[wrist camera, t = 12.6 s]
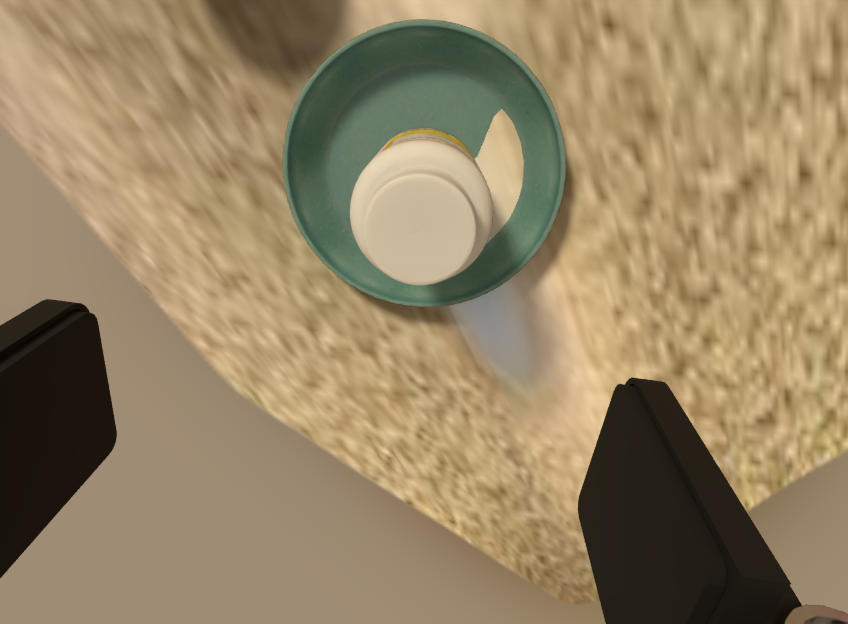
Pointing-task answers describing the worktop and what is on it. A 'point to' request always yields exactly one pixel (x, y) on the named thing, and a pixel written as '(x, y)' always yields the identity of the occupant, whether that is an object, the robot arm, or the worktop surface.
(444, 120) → the saucer
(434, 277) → the supplement bottle
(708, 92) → the worktop surface
